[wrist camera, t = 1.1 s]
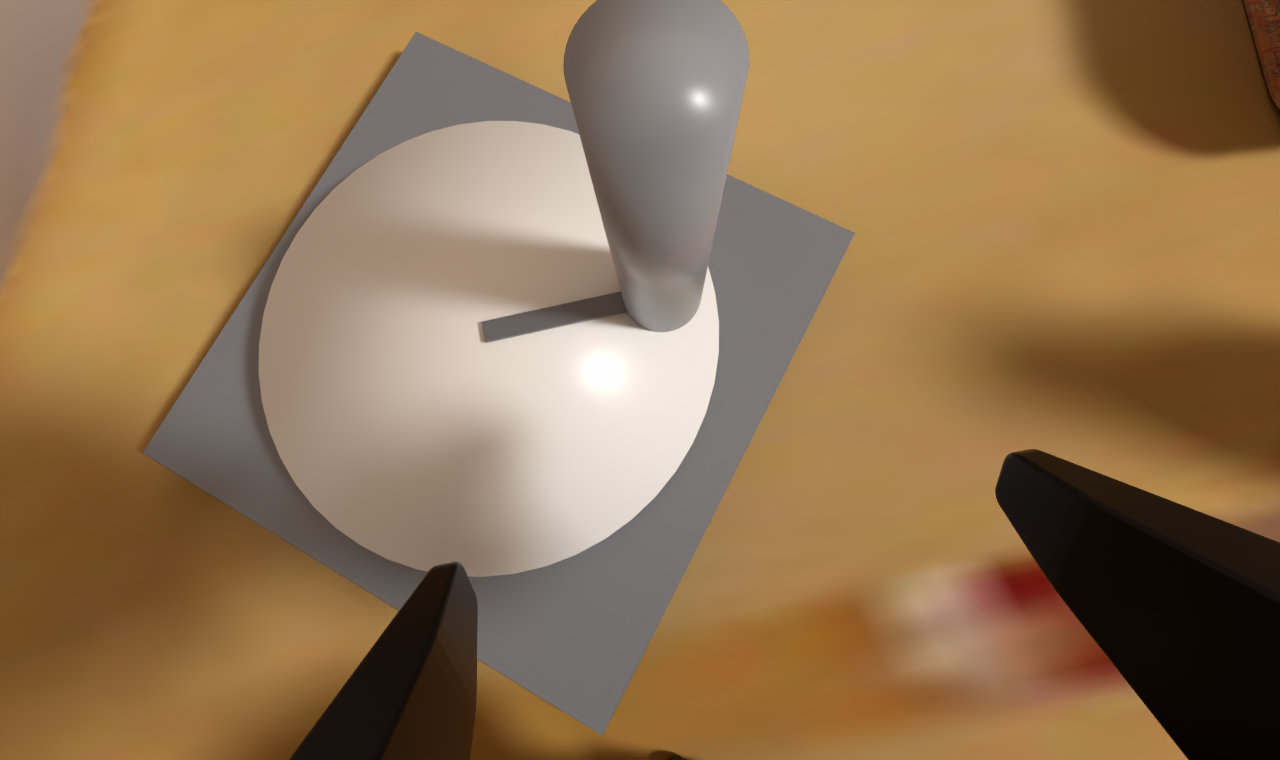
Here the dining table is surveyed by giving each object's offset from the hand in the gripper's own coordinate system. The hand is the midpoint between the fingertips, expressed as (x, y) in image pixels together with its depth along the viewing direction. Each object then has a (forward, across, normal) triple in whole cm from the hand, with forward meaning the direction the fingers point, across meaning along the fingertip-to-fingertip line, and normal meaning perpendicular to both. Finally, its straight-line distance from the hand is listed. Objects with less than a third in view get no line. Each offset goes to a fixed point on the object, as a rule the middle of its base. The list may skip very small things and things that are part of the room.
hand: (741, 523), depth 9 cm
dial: (+14, +6, +3) cm, 16 cm away
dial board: (+16, +6, +4) cm, 17 cm away
